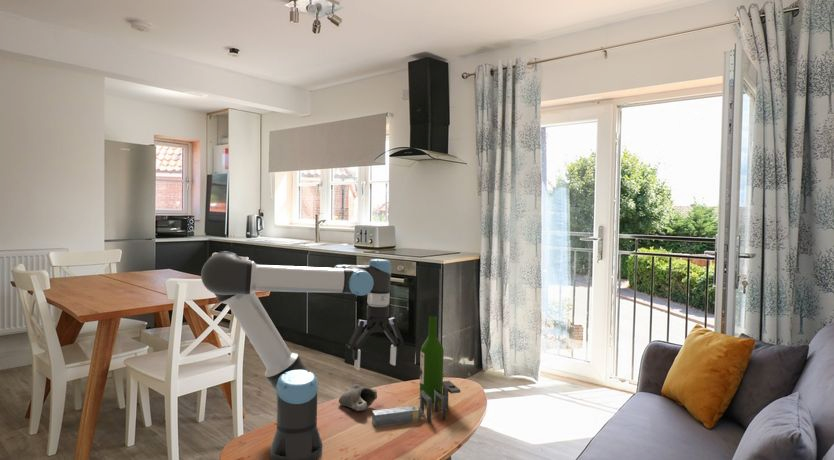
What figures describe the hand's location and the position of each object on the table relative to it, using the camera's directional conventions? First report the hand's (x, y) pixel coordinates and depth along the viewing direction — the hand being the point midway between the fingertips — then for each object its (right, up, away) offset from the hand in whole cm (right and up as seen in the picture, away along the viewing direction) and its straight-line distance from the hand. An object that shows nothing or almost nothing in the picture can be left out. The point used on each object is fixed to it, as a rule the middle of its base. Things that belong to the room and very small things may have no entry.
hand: (375, 366), depth 165 cm
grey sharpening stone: (+7, -20, +3) cm, 21 cm away
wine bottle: (+20, -20, +24) cm, 37 cm away
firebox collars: (+22, -20, +10) cm, 31 cm away
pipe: (-8, -20, +15) cm, 26 cm away
